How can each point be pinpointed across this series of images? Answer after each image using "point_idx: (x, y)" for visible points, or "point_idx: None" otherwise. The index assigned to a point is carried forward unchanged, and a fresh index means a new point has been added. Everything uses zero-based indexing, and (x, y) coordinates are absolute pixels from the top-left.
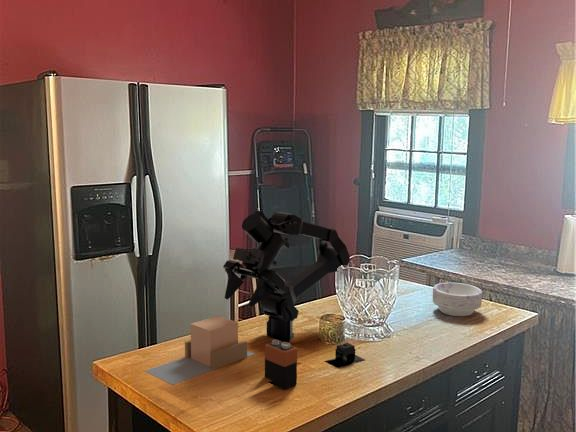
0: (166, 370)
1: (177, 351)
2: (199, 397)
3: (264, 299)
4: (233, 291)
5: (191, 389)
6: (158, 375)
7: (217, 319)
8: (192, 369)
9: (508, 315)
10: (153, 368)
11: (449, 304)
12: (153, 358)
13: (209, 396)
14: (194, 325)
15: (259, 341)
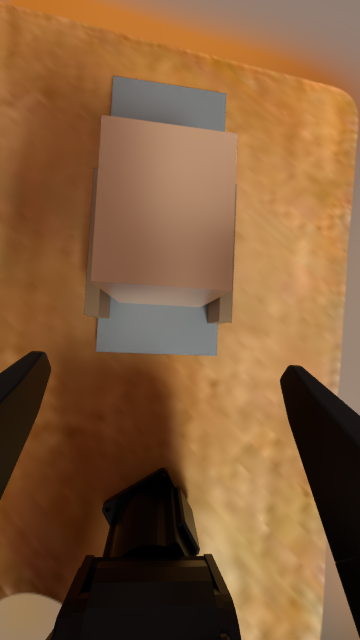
0: (189, 124)
1: (282, 250)
2: (37, 95)
3: (191, 619)
4: (310, 460)
5: (84, 114)
6: (180, 93)
7: (193, 248)
8: None
9: None
10: (222, 115)
11: None
12: (288, 184)
13: (22, 111)
14: (210, 130)
15: (177, 448)
